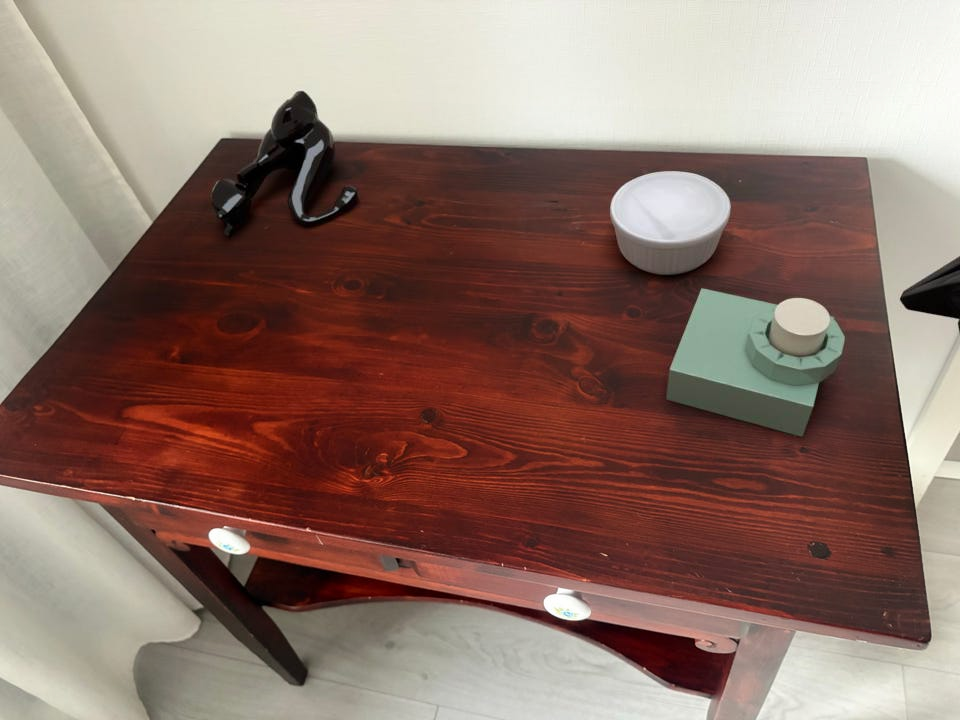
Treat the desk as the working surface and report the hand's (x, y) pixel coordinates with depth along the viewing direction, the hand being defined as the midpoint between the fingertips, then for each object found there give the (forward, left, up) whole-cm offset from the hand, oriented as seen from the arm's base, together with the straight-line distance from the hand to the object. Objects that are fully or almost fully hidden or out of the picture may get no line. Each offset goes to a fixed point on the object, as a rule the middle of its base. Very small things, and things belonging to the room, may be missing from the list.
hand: (904, 301), depth 51 cm
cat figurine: (+62, -10, -13) cm, 64 cm away
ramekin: (+20, -15, -13) cm, 28 cm away
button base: (+9, -1, -13) cm, 15 cm away
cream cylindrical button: (+6, -1, -7) cm, 9 cm away
